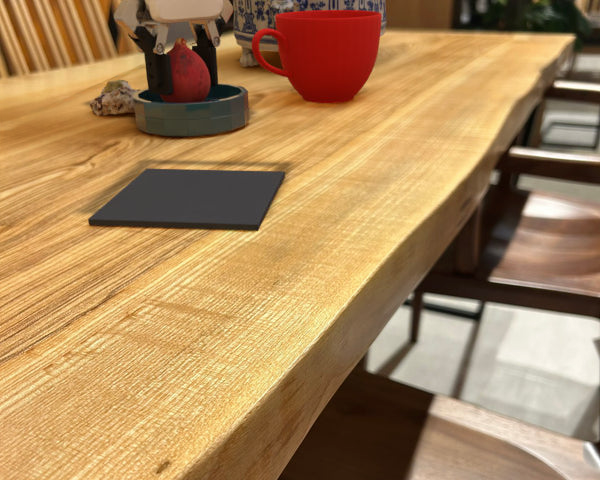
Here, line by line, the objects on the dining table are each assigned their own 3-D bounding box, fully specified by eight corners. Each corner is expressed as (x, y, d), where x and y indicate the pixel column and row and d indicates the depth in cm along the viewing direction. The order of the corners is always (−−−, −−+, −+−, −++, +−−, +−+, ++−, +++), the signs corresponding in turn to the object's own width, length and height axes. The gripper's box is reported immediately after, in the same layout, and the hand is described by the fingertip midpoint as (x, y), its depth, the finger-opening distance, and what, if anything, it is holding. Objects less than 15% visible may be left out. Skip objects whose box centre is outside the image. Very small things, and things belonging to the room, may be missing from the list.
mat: (88, 225, 44) (87, 218, 44) (147, 174, 55) (146, 168, 55) (258, 231, 43) (257, 224, 43) (285, 177, 53) (284, 171, 53)
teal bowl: (120, 138, 66) (115, 103, 64) (158, 112, 77) (154, 82, 75) (235, 139, 65) (233, 104, 63) (257, 113, 75) (256, 82, 74)
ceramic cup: (233, 100, 83) (227, 15, 78) (341, 86, 90) (342, 8, 85) (281, 118, 73) (278, 23, 68) (399, 100, 80) (403, 13, 75)
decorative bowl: (372, 79, 94) (376, -35, 87) (201, 76, 99) (192, -32, 92) (393, 44, 131) (397, -39, 124) (267, 43, 136) (264, -36, 129)
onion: (213, 120, 68) (208, 40, 64) (158, 122, 67) (150, 41, 63) (211, 109, 73) (206, 34, 69) (160, 111, 72) (152, 35, 68)
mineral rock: (164, 94, 75) (93, 79, 72) (159, 131, 76) (88, 118, 73) (155, 82, 84) (91, 68, 81) (150, 116, 85) (87, 103, 82)
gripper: (205, -101, 68) (215, 75, 77) (65, -114, 56) (96, 97, 65) (258, -105, 64) (262, 82, 73) (120, -119, 52) (145, 106, 61)
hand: (184, 87), depth 69 cm, fingers closed on onion, 5 cm apart
